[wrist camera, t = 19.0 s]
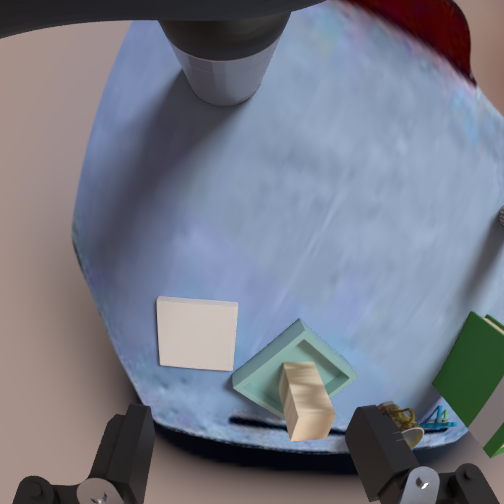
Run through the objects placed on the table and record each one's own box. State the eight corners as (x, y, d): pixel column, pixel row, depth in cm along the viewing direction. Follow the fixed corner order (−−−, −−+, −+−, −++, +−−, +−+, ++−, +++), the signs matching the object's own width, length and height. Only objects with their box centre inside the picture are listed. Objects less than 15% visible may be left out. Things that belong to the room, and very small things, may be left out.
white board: (161, 359, 43) (160, 364, 42) (158, 295, 40) (156, 300, 39) (232, 364, 44) (232, 370, 43) (237, 301, 41) (238, 306, 40)
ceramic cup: (395, 422, 53) (413, 453, 44) (355, 431, 53) (371, 465, 43) (414, 380, 50) (437, 411, 40) (371, 388, 49) (392, 424, 39)
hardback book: (470, 311, 46) (551, 374, 24) (488, 314, 48) (562, 371, 25) (432, 383, 51) (490, 458, 28) (452, 382, 52) (508, 449, 29)
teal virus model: (410, 429, 53) (448, 428, 45) (414, 405, 56) (451, 402, 48) (428, 430, 57) (462, 428, 49) (432, 409, 60) (465, 406, 52)
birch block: (277, 385, 45) (290, 441, 34) (283, 361, 44) (298, 417, 32) (307, 385, 46) (325, 438, 34) (314, 361, 44) (336, 415, 33)
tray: (232, 373, 45) (232, 387, 42) (299, 317, 43) (305, 330, 40) (289, 411, 49) (292, 424, 45) (351, 364, 47) (358, 376, 43)
